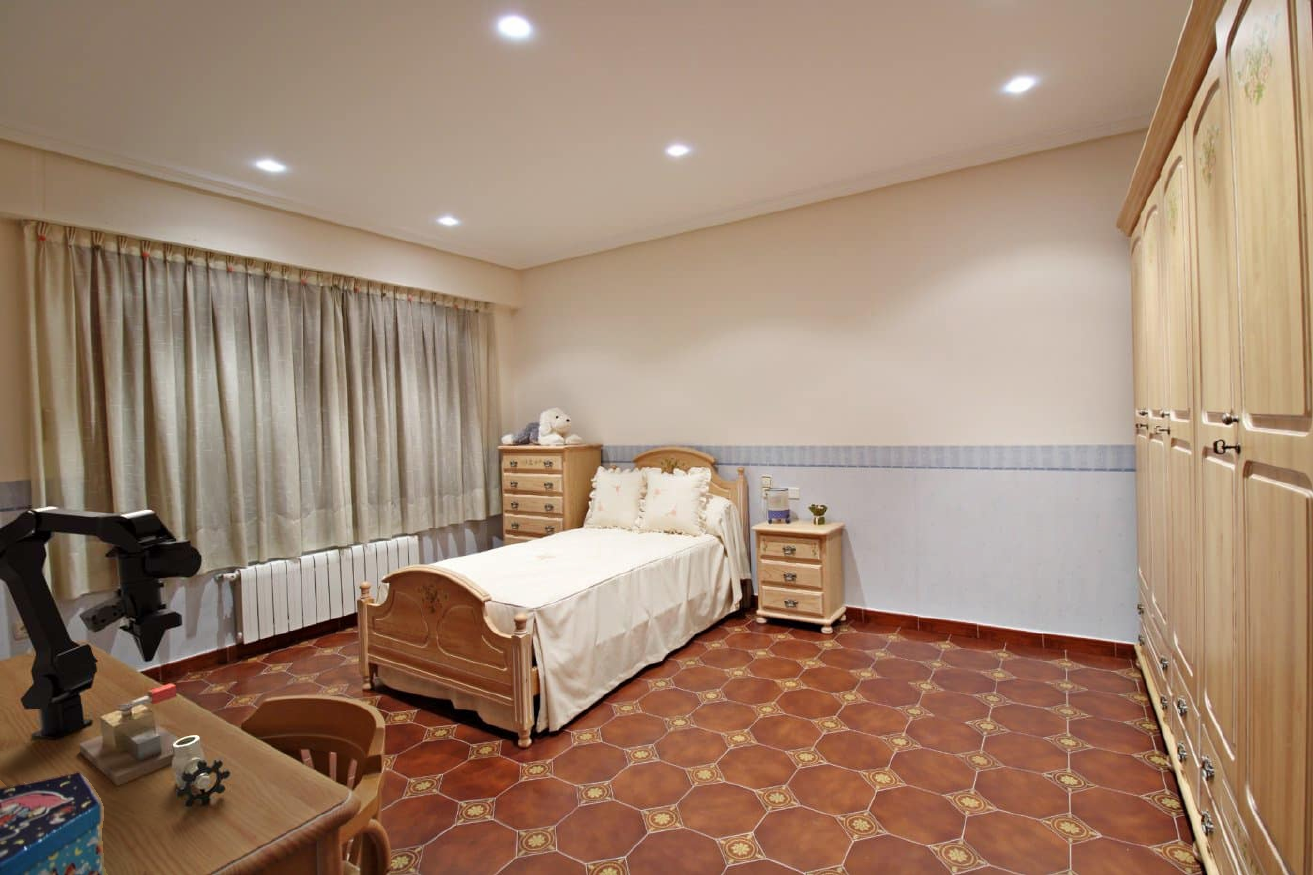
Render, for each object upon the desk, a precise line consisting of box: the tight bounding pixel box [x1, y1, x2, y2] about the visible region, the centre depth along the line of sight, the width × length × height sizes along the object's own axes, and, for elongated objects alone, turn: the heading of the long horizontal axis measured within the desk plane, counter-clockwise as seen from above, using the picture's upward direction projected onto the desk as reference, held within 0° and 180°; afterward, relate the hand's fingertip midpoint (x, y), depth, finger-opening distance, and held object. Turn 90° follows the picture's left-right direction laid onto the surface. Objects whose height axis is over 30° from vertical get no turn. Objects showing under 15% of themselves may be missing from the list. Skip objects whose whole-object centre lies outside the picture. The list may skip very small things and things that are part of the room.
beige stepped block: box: [99, 704, 162, 761], centre depth 109 cm, size 16×6×6 cm, turn 56°
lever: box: [118, 682, 178, 711], centre depth 112 cm, size 8×2×2 cm, turn 146°
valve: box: [171, 735, 231, 808], centre depth 97 cm, size 7×7×12 cm
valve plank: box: [78, 722, 180, 787], centre depth 109 cm, size 20×10×2 cm, turn 56°
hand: (148, 661), depth 117 cm, fingers closed
